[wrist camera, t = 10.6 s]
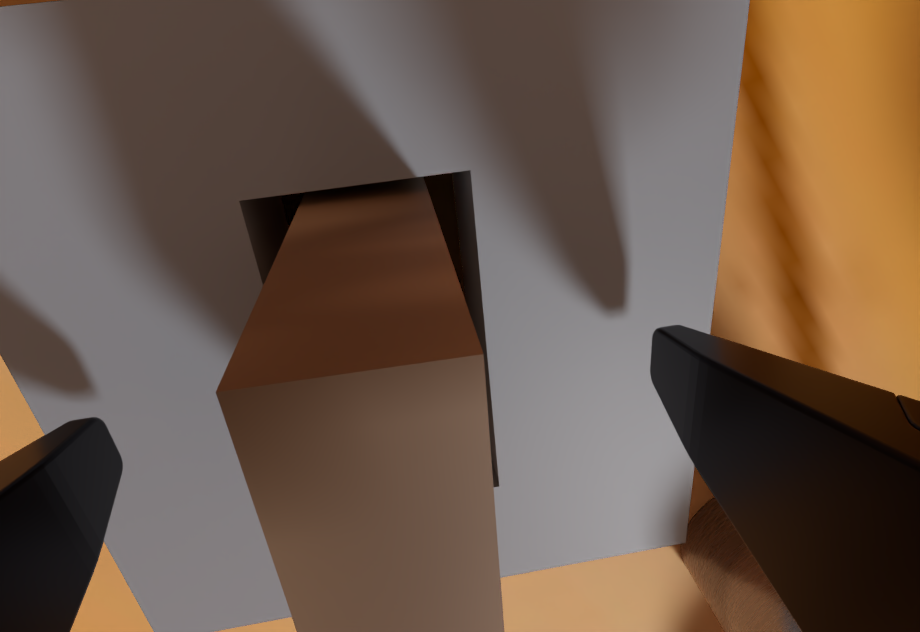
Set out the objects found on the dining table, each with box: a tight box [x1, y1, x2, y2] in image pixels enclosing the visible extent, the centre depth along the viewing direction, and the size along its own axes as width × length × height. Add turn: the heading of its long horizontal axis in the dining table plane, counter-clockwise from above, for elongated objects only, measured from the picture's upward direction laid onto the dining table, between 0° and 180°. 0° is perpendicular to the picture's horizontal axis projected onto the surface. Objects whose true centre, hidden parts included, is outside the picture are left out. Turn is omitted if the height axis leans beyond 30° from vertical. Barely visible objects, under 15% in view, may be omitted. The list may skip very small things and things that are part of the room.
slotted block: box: [0, 0, 750, 632], centre depth 11 cm, size 12×12×3 cm
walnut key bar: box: [216, 177, 504, 632], centre depth 9 cm, size 2×5×8 cm, turn 5°
